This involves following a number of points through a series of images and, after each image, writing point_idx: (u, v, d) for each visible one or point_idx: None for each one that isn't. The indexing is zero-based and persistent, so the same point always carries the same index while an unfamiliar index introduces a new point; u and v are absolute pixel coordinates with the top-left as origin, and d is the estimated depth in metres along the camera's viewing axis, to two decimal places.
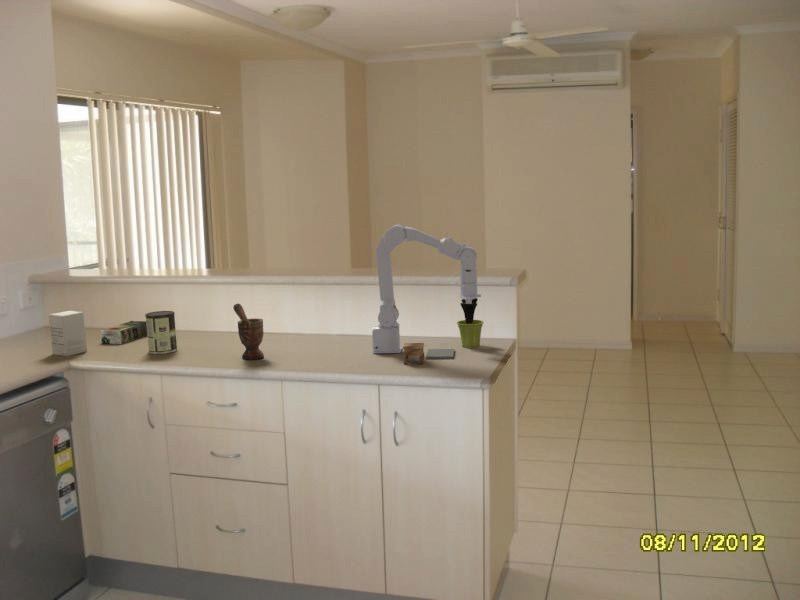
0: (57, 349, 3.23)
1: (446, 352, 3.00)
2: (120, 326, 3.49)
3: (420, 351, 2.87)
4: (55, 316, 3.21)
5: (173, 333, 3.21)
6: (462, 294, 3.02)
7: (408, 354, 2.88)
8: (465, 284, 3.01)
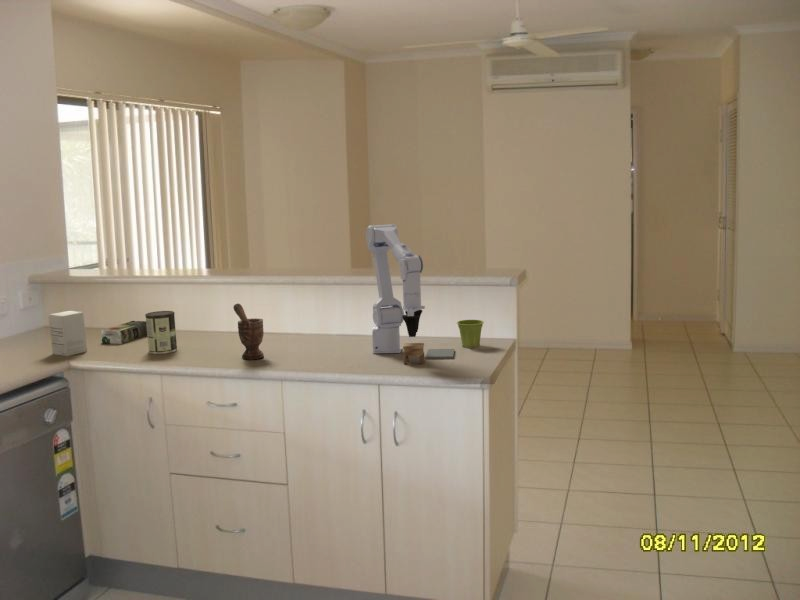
0: (57, 349, 3.23)
1: (446, 352, 3.00)
2: (121, 326, 3.49)
3: (420, 351, 2.87)
4: (55, 316, 3.21)
5: (173, 333, 3.21)
6: (405, 306, 2.86)
7: (408, 354, 2.88)
8: (407, 295, 2.85)
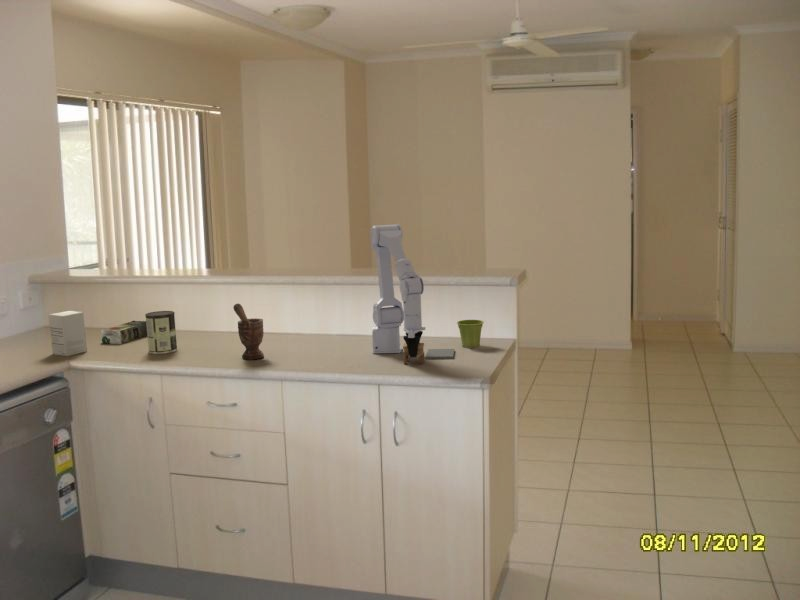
0: (57, 349, 3.23)
1: (446, 352, 3.00)
2: (121, 326, 3.50)
3: (420, 351, 2.87)
4: (55, 316, 3.21)
5: (173, 333, 3.21)
6: (405, 327, 2.87)
7: (408, 354, 2.88)
8: (408, 316, 2.86)
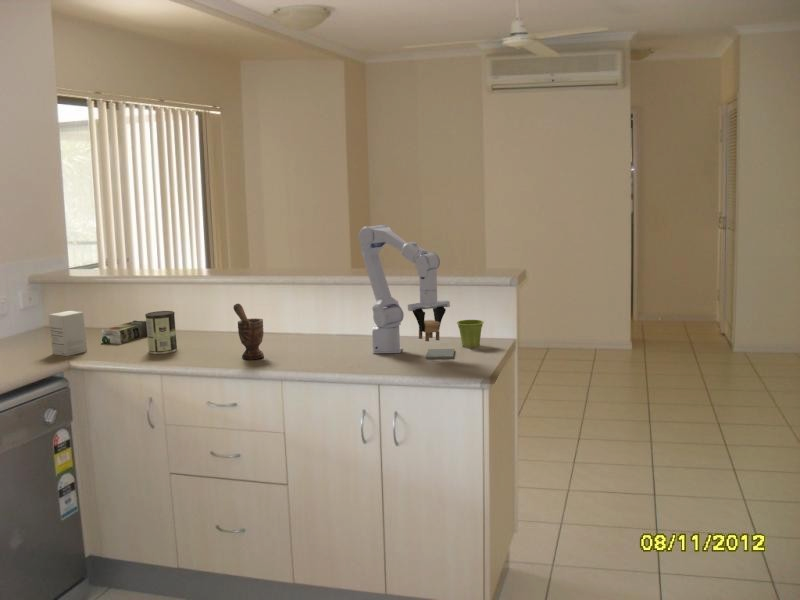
0: (57, 349, 3.23)
1: (446, 352, 3.00)
2: (122, 326, 3.50)
3: (425, 328, 2.92)
4: (55, 316, 3.21)
5: (173, 333, 3.21)
6: None
7: None
8: (420, 291, 2.93)
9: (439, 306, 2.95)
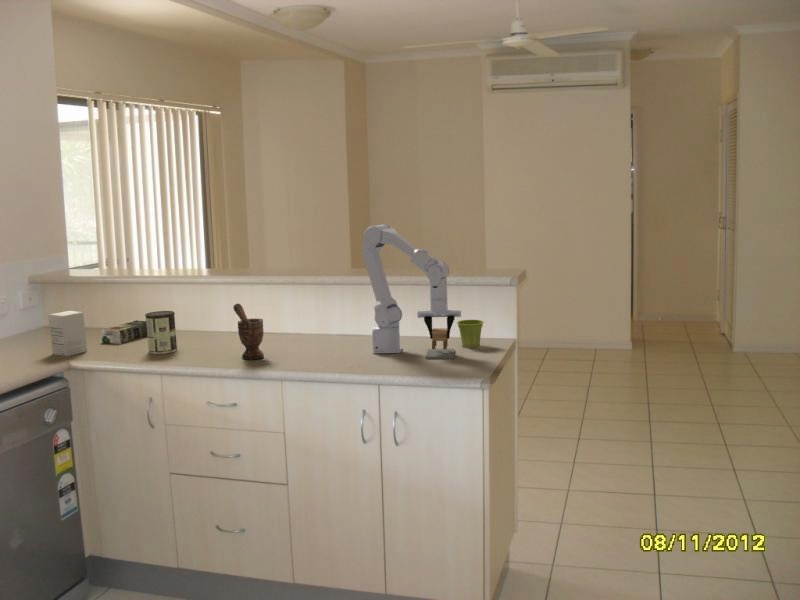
0: (57, 349, 3.23)
1: (446, 352, 3.00)
2: (122, 326, 3.50)
3: (432, 336, 2.98)
4: (55, 316, 3.21)
5: (173, 333, 3.21)
6: None
7: None
8: None
9: (450, 315, 2.98)
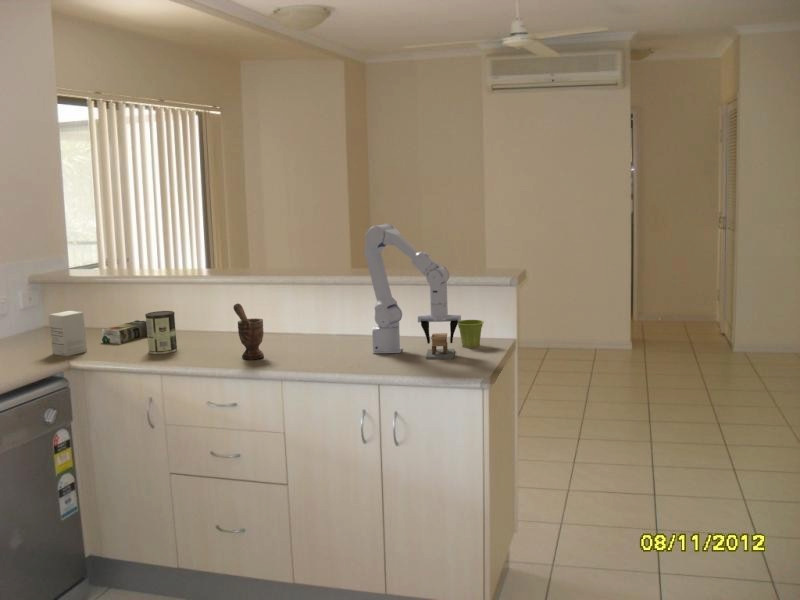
0: (57, 349, 3.23)
1: None
2: (123, 325, 3.50)
3: (432, 341, 2.98)
4: (55, 316, 3.21)
5: (173, 333, 3.21)
6: None
7: None
8: None
9: (450, 320, 2.98)
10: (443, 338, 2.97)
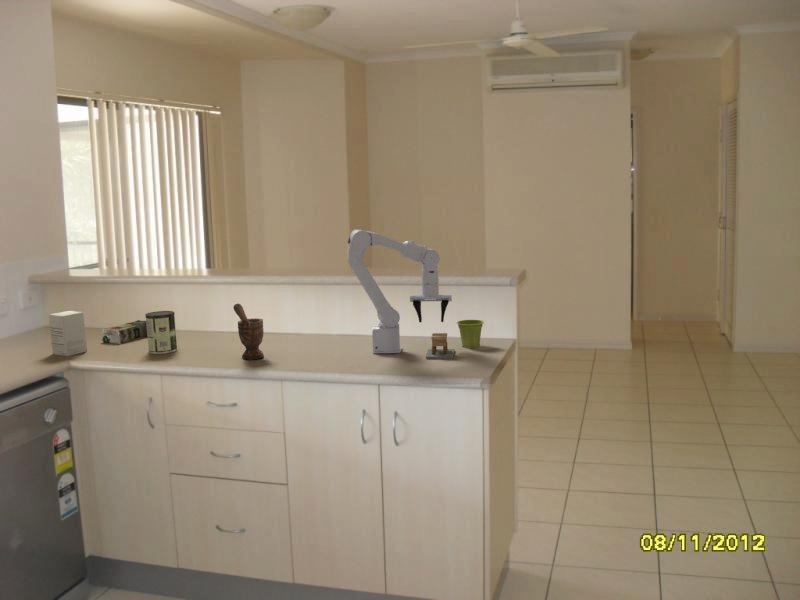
0: (57, 349, 3.23)
1: None
2: (123, 325, 3.50)
3: (432, 341, 2.98)
4: (55, 316, 3.21)
5: (173, 333, 3.21)
6: None
7: None
8: None
9: (441, 300, 3.09)
10: (443, 338, 2.97)
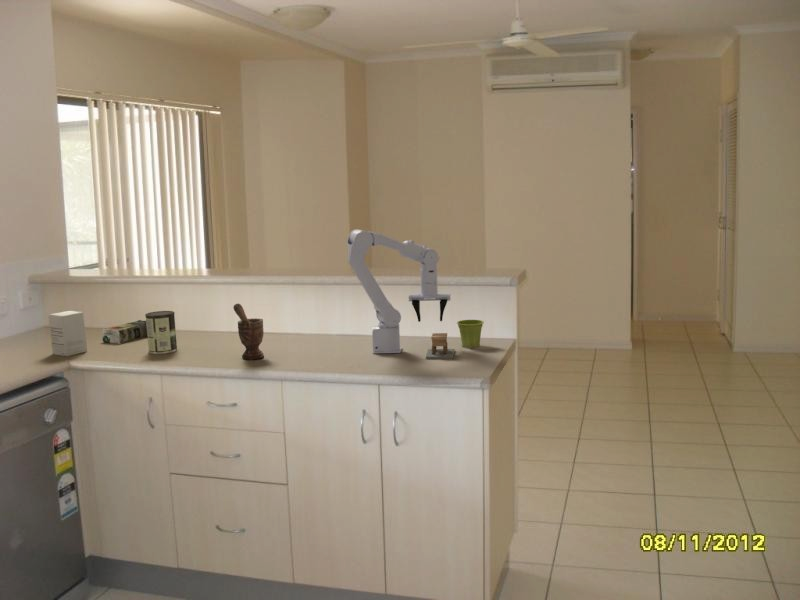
0: (57, 349, 3.23)
1: None
2: (124, 325, 3.51)
3: (432, 341, 2.98)
4: (55, 316, 3.21)
5: (173, 333, 3.21)
6: None
7: None
8: None
9: (440, 299, 3.10)
10: (443, 338, 2.97)
